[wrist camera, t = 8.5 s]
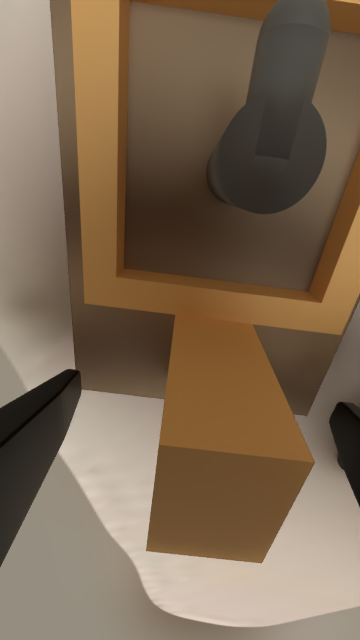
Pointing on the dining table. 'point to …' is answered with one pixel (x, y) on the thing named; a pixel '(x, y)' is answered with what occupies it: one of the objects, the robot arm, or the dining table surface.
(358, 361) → the dining table surface
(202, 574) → the dining table surface
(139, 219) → the hook plate
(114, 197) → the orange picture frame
